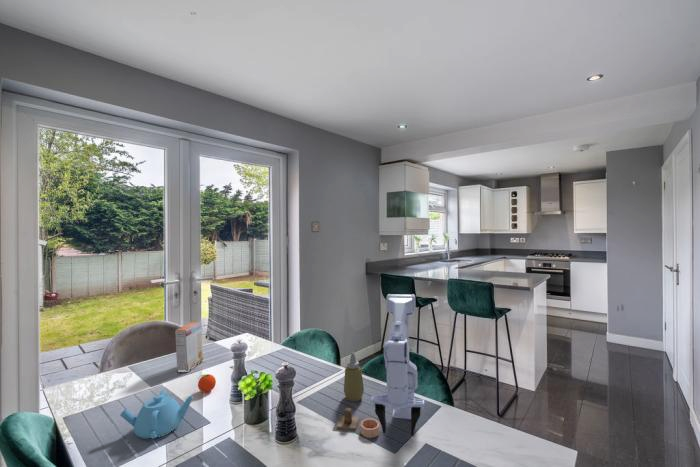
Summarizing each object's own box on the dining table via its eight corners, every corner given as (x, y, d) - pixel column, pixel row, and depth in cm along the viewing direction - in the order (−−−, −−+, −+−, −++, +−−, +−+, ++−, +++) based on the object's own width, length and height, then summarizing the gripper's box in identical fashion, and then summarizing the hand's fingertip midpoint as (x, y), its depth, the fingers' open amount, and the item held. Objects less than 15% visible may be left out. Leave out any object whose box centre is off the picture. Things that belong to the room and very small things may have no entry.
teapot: (159, 412, 124) (158, 382, 123) (195, 420, 118) (194, 389, 118) (118, 436, 109) (117, 403, 109) (156, 447, 103) (155, 412, 103)
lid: (341, 417, 116) (341, 404, 116) (359, 419, 115) (358, 405, 115) (336, 428, 110) (336, 414, 110) (355, 430, 108) (355, 416, 108)
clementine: (192, 394, 136) (191, 377, 136) (203, 386, 143) (202, 370, 143) (209, 396, 134) (208, 379, 134) (219, 388, 141) (219, 371, 141)
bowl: (362, 426, 111) (362, 417, 111) (380, 428, 110) (380, 419, 110) (359, 437, 105) (359, 428, 105) (378, 439, 104) (377, 430, 104)
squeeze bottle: (362, 404, 125) (361, 357, 125) (341, 403, 126) (340, 356, 126) (365, 394, 133) (364, 350, 132) (346, 392, 134) (345, 349, 134)
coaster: (338, 416, 118) (338, 415, 117) (363, 418, 116) (363, 417, 116) (332, 431, 109) (332, 430, 109) (358, 434, 107) (358, 433, 107)
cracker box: (192, 361, 172) (191, 321, 171) (203, 361, 171) (202, 321, 171) (175, 373, 158) (174, 329, 157) (187, 373, 157) (186, 329, 157)
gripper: (369, 388, 89) (370, 438, 89) (424, 393, 86) (425, 444, 86) (372, 377, 96) (373, 423, 96) (423, 380, 93) (424, 428, 93)
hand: (398, 432), depth 91 cm, fingers open, 7 cm apart
